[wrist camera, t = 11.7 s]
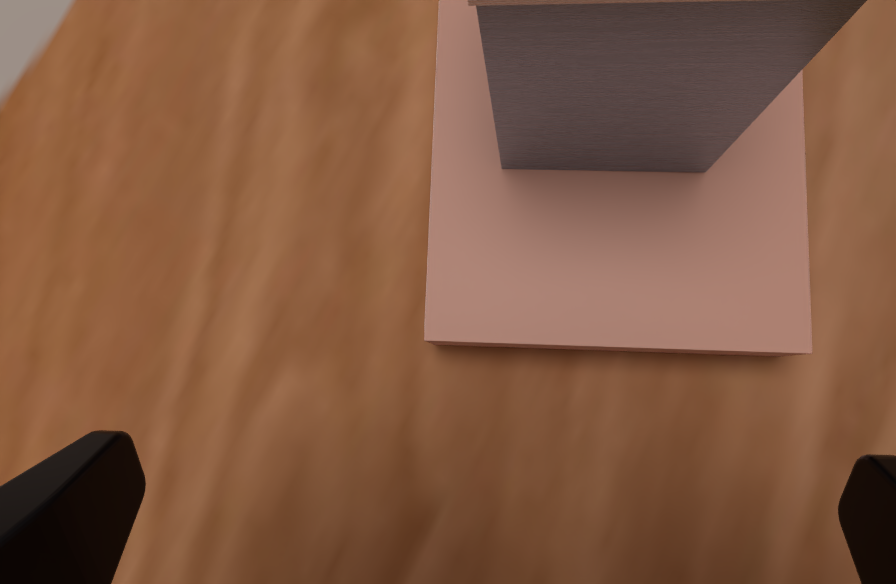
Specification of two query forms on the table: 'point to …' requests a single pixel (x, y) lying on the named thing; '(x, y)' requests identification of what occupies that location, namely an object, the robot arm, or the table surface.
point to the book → (612, 235)
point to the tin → (641, 76)
